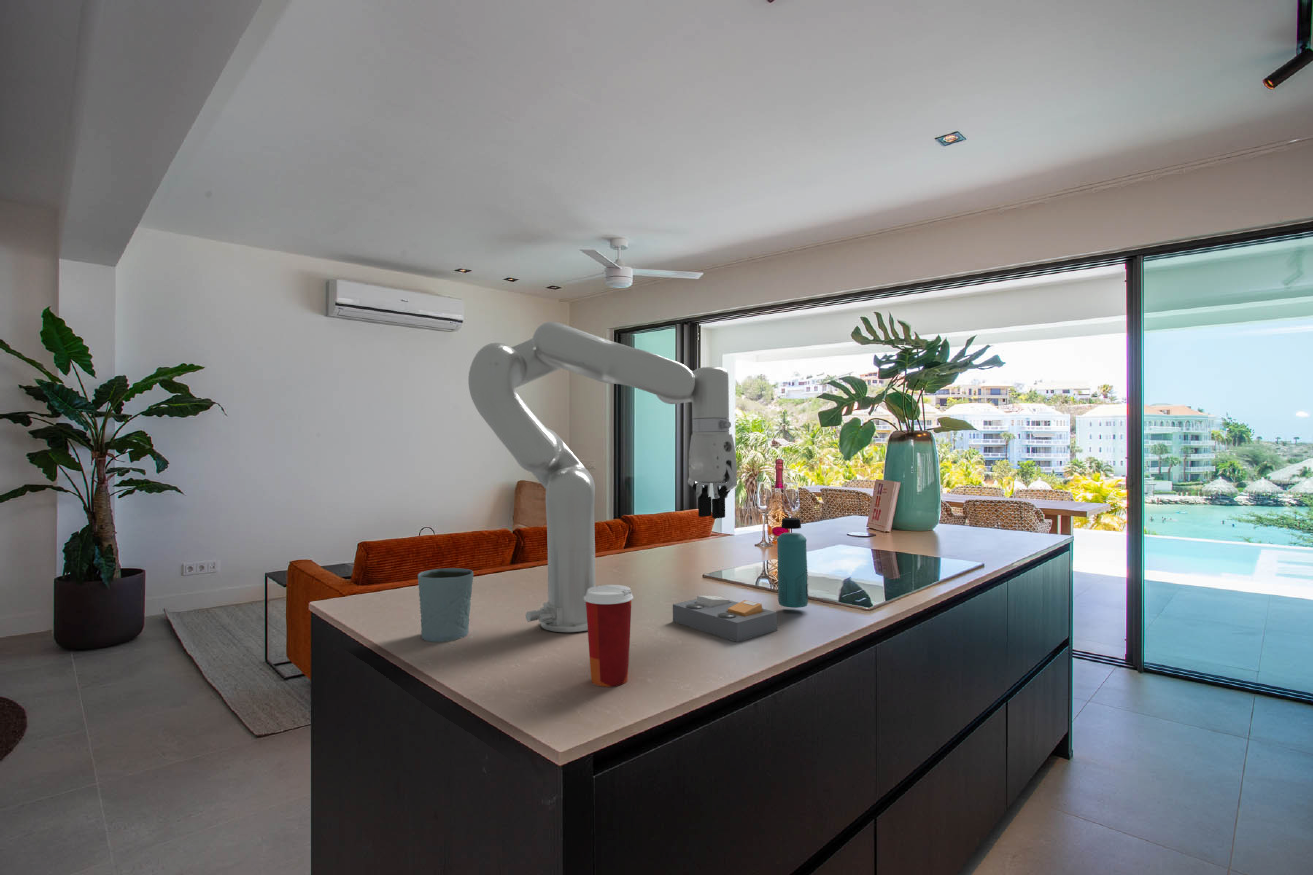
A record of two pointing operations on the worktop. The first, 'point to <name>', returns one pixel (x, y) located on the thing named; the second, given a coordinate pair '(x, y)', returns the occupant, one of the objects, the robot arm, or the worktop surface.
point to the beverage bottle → (792, 566)
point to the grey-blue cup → (445, 603)
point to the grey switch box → (724, 620)
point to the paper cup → (609, 633)
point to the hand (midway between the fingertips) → (711, 516)
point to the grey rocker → (711, 601)
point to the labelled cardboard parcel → (746, 608)
